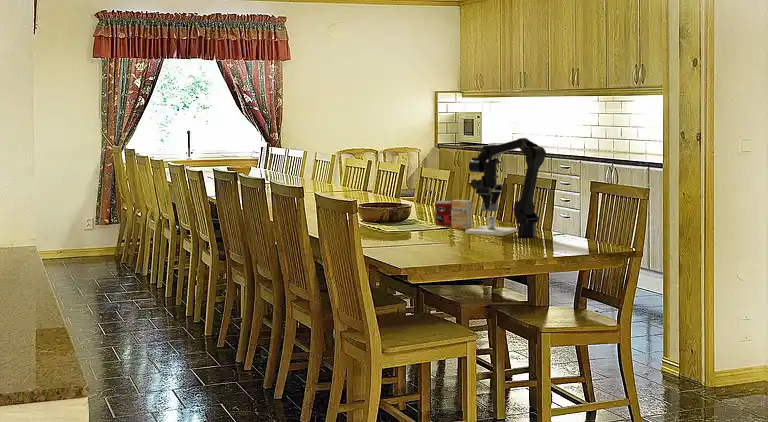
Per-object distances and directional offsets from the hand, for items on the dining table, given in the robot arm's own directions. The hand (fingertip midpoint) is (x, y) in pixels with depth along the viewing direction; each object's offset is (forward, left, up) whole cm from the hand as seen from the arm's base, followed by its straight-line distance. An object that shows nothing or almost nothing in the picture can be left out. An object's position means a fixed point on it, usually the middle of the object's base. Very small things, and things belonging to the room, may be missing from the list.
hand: (490, 208), depth 423 cm
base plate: (0, -1, -11) cm, 11 cm away
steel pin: (0, -1, -10) cm, 10 cm away
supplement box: (+18, -8, -11) cm, 23 cm away
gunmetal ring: (0, 0, -1) cm, 1 cm away
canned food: (+32, -17, -11) cm, 38 cm away
